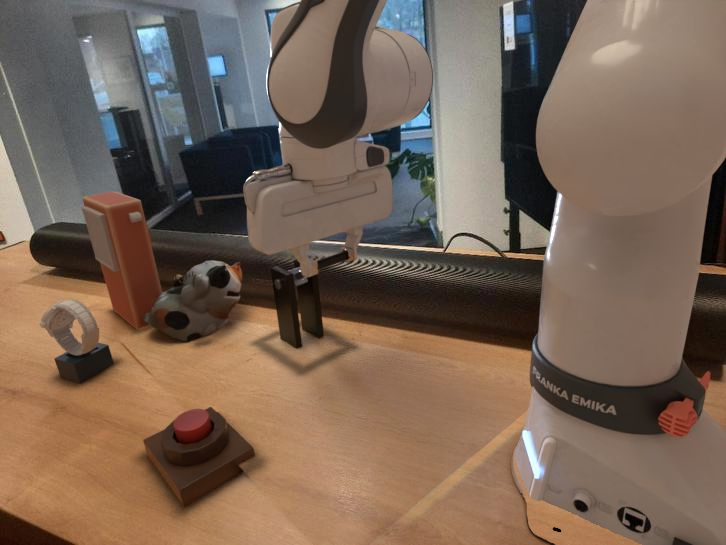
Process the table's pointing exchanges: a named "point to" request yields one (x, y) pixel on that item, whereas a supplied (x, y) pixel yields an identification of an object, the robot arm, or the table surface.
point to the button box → (198, 458)
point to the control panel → (123, 253)
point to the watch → (76, 341)
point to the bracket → (288, 306)
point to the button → (192, 426)
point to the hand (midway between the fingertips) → (330, 267)
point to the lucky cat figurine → (197, 301)
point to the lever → (322, 264)
